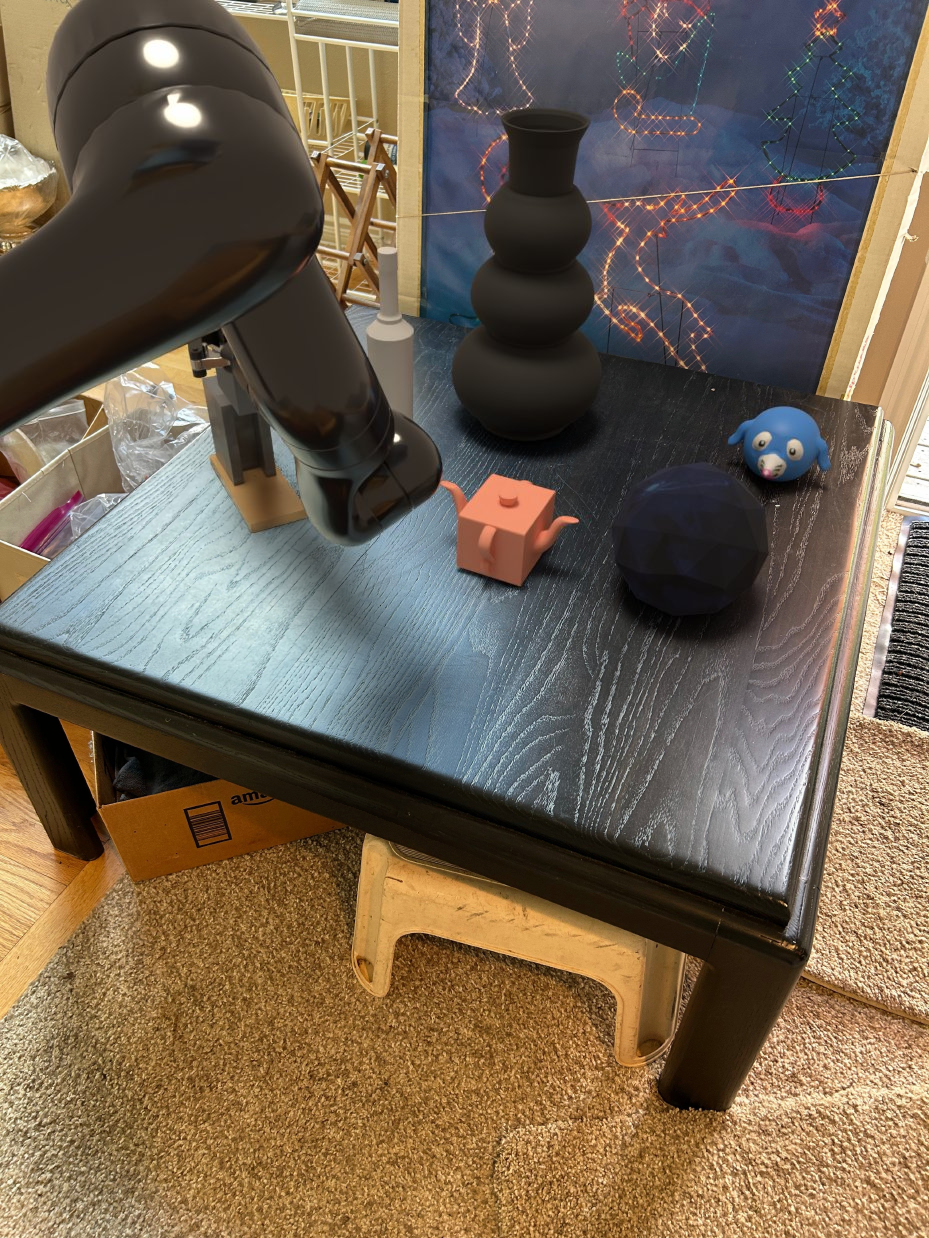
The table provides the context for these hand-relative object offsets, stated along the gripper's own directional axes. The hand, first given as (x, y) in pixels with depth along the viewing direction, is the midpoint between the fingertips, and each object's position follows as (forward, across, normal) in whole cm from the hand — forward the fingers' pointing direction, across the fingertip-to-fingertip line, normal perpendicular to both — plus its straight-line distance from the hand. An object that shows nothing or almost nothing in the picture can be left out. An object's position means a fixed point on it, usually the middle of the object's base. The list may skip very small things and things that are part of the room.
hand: (232, 309), depth 88 cm
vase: (+1, -35, +22) cm, 42 cm away
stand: (+1, 0, +22) cm, 22 cm away
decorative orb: (-35, -32, +22) cm, 52 cm away
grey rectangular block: (-3, 0, +8) cm, 8 cm away
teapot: (-22, -19, +22) cm, 37 cm away
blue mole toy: (-23, -54, +22) cm, 63 cm away
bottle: (0, -16, +22) cm, 28 cm away
